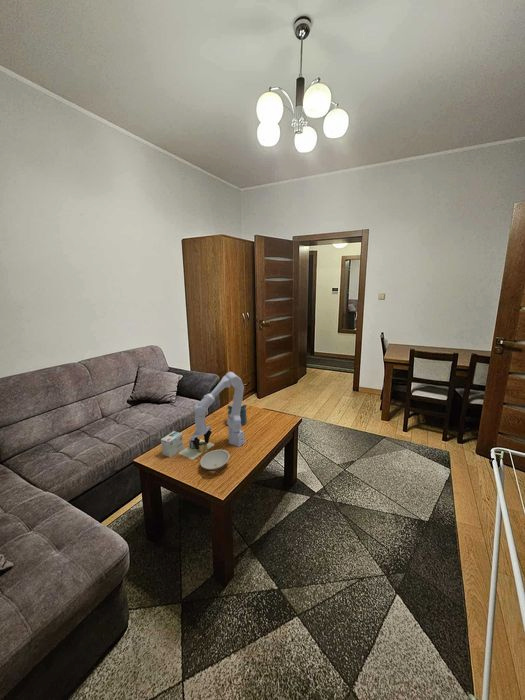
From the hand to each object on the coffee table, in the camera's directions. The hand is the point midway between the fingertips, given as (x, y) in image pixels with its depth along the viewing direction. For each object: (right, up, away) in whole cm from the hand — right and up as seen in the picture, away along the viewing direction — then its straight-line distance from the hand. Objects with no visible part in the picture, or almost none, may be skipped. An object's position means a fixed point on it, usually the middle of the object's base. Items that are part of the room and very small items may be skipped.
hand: (202, 445), depth 168 cm
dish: (+10, -7, -14) cm, 18 cm away
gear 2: (0, -2, +1) cm, 2 cm away
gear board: (-3, -3, +2) cm, 5 cm away
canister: (+18, +5, +35) cm, 39 cm away
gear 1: (-5, -2, +4) cm, 7 cm away
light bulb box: (-17, -4, 0) cm, 17 cm away
